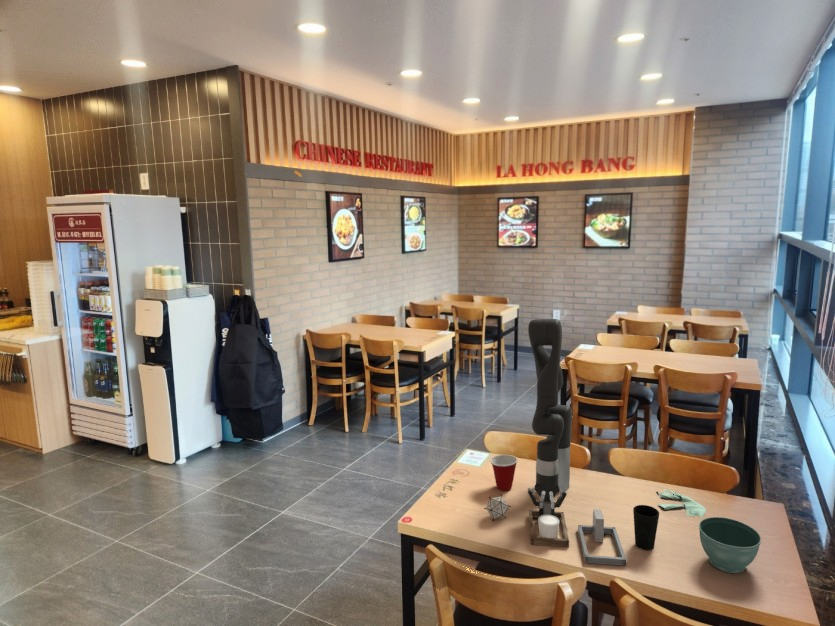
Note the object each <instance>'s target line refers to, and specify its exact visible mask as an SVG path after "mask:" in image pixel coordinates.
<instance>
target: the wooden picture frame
mask: <svg viewBox="0 0 835 626" xmlns="http://www.w3.org/2000/svg"><path fill="white" fill-rule="evenodd" d="M543 515H551V502H550V499H544V502H543ZM555 517H557V518H558V519H559V520H560V522H561V527H562V533H563V538H542V537H540V536H534V535H535V534H534V522H533V518H539V509H537V510H536V509H535V510H533V509H528V523H529V524H528V525H529V538H530V545H538V546H539V545H540V546H551V547H553V546H554V547H568V548H569V547H570V540H569V534H568V528H567V524H566V523H567V522H566V520H565V519H566V518H565V513H564V511H555Z"/></svg>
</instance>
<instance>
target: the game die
mask: <svg viewBox="0 0 835 626" xmlns="http://www.w3.org/2000/svg"><path fill="white" fill-rule="evenodd" d="M488 498H489V500H488V503H487V505H486V507H484V508H483V510H486V511H487V512H488V514H489V515H490V516H491V518H492V522H494V521H495V519H500V518H501V519H502V518H504V519H507V517H506V515H507V513H508V510H509V508H511V507H512V505H509V504H508V503H507V501H506V500H505V499H504V497H503V493H502V494H500V495H499V496H496V497H491V496H488Z"/></svg>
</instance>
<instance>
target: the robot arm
mask: <svg viewBox="0 0 835 626" xmlns="http://www.w3.org/2000/svg"><path fill="white" fill-rule="evenodd" d="M527 329H528V330H527V331H528V339H529V343H530V347H531V351H532V355H533V359H534V364H535V373H536V379H537V382H536V406H535V411H534V415H533V418H532V422H531V428H532V431H533V432H534V433H535V434H536V435H540V436H546V438H544V439H540V440H538V442H537V443H536V463H535V484H534V487H531V488H530V487H528V488H527V494H528V496H529V498H530V500H531V502H532V503H533V506H534V507H538V511H539V516H542V515H543V502H544V499H550V502H551V515H552V516H555V512H556V511H555V510H556V508H559V509H560V508H561V506H562V504H563V503H564V500H565V498H566V497H567V491H566V490H568V489H570V483H571V482H570V479H571V478H570V476H571V475H570V474H571V473H570V470H571V438H572V437H571V436H572V435H571V434H572V422H573V411H572V410H573V409H572V407H571V406H570V405H565V404H564V405H563V404H559V392H560V391H561V389H562V388H563V385H564V376H563V370H562V367H561V364H560V363H561V355H562V341H563V327H562V323H561V321H560V319H558V318H535V319H531V320H530V321H529V322H528V327H527ZM546 346H548V347H549V346H550V347H551V352H550V353H549V352H548V351H547V350H546V348H545V347H546ZM535 493H536V494H537V495H538V496H539V500H537V498H536V495H535ZM558 494H559V495H558ZM557 495H558V497H557V500H556V501H555V499H554V498H555V497H556V496H557Z"/></svg>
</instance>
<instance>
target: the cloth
mask: <svg viewBox="0 0 835 626" xmlns="http://www.w3.org/2000/svg"><path fill="white" fill-rule="evenodd" d="M662 489H663V490H662V491H663V492H662V493H661V492H659V491H656V492H655V493H657V494H658V496H659V498H660V499H666V500H672V499H674V500H675V501H677V500H682V501H681V503H682V504H676V503H659V504H658V505H657V507H661V509H662V510H664V512H665V511H670V510H679V509H685V511H686V513H685V514H686V515H687V516H689V517H699V518H703V517H704V516H705V515H706V512H707V511H706V510H707V509H706V507H704V506H703V505H702V504H700V503H698V502H697V501H695V500H694V499H692V498H691V497H689V496H687V495H683V494H681V493H677V492H676V491H674V490H670V489H665V488H662ZM669 493H672V494H669ZM673 494H674V495H673Z"/></svg>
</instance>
